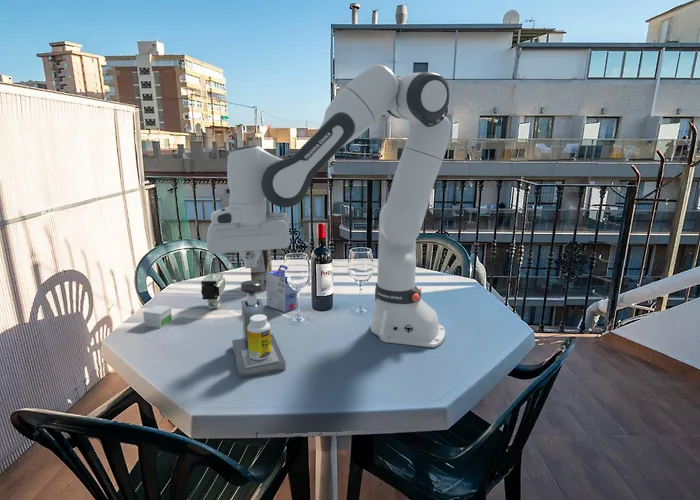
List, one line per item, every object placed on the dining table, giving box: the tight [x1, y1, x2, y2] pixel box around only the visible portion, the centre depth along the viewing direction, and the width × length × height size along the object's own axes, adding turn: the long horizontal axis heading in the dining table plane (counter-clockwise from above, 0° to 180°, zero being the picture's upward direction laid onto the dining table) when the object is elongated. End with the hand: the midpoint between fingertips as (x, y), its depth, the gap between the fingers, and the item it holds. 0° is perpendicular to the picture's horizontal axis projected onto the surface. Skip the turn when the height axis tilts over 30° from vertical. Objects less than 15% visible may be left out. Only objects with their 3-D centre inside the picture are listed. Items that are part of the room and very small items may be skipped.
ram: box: [240, 279, 262, 306], centre depth 100 cm, size 5×5×12 cm
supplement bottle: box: [247, 314, 272, 360], centre depth 93 cm, size 6×6×10 cm
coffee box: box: [249, 249, 273, 291], centre depth 148 cm, size 9×6×16 cm
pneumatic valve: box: [200, 272, 226, 310], centre depth 127 cm, size 6×12×12 cm, turn 5°
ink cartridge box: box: [265, 264, 297, 313], centre depth 129 cm, size 10×6×14 cm, turn 53°
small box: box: [142, 304, 173, 329], centre depth 116 cm, size 6×6×5 cm
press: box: [231, 298, 287, 380], centre depth 96 cm, size 16×11×13 cm
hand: (250, 267), depth 97 cm, fingers closed
